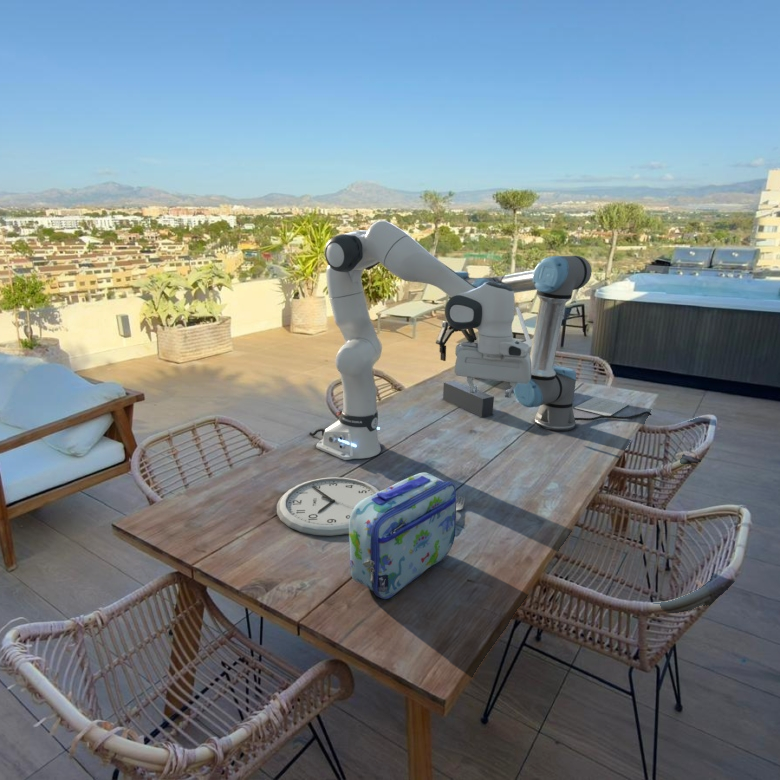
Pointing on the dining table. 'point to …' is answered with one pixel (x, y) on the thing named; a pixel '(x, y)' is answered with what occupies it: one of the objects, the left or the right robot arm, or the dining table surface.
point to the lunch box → (401, 532)
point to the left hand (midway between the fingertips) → (490, 394)
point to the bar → (468, 398)
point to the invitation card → (601, 406)
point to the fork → (459, 506)
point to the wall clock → (323, 505)
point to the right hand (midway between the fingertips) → (455, 358)
